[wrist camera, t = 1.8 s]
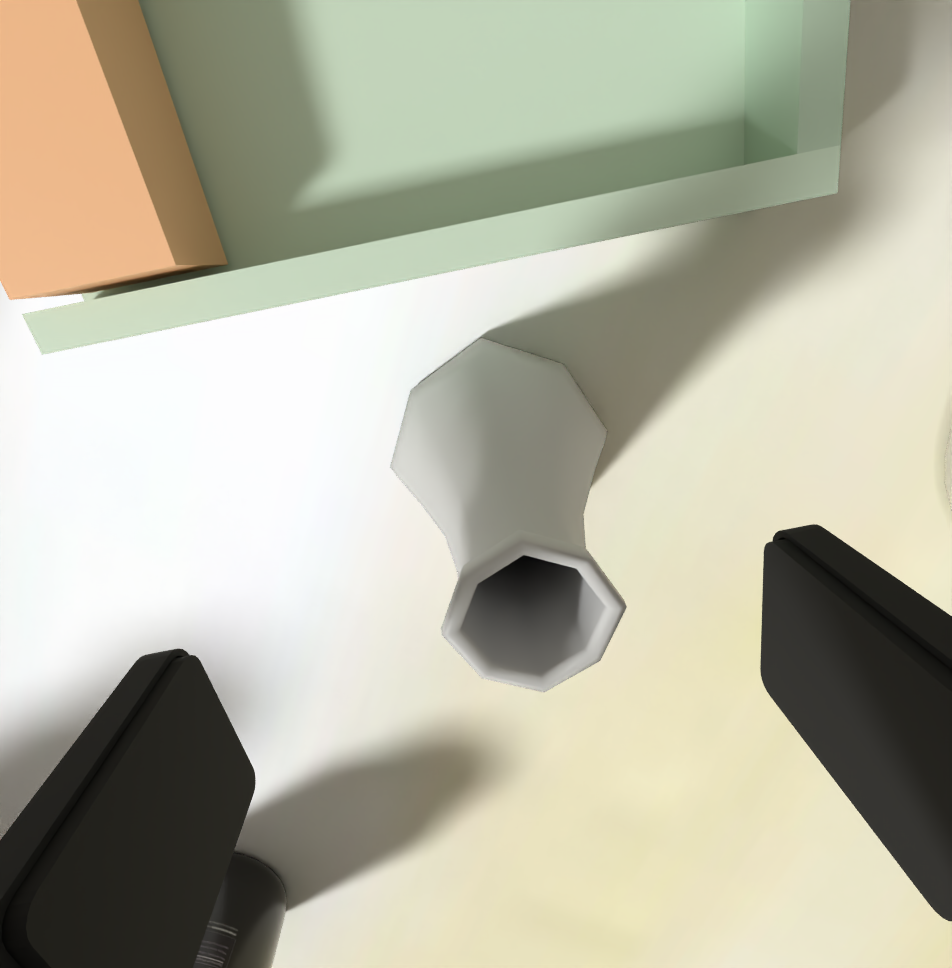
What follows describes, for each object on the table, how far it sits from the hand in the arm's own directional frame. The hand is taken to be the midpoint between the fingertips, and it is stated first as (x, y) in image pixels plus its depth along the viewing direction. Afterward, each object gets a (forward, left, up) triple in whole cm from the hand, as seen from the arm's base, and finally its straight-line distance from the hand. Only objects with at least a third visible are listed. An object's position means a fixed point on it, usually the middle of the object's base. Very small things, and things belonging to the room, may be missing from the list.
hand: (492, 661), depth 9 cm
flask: (-1, 0, -11) cm, 11 cm away
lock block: (+8, -11, -9) cm, 17 cm away
